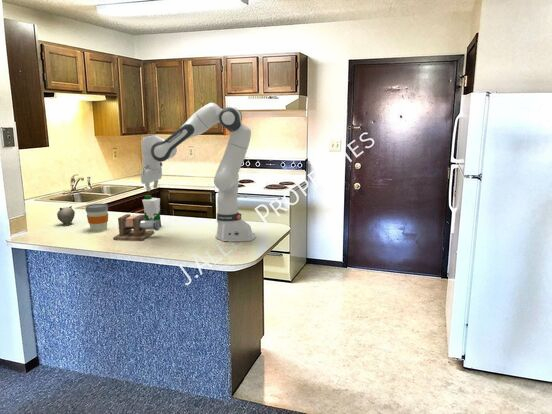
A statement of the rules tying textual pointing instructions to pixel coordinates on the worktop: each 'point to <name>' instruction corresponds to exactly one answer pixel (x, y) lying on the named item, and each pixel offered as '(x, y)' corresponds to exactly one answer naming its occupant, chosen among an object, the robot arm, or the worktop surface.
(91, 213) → the reusable coffee cup
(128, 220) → the spacer
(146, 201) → the milk carton
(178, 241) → the worktop surface
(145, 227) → the shaft
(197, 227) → the worktop surface
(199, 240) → the worktop surface
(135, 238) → the bearing block
